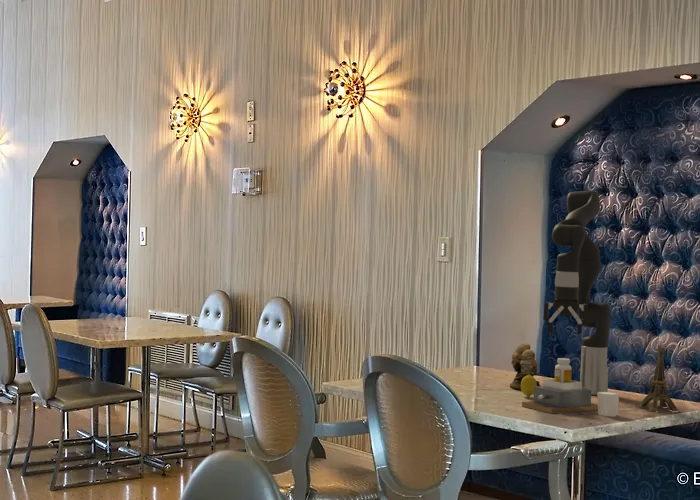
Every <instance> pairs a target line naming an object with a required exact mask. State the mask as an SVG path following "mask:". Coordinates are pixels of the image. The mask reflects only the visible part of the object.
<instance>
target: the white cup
mask: <svg viewBox="0 0 700 500" xmlns="http://www.w3.org/2000/svg"><path fill="white" fill-rule="evenodd" d="M620 394H621V393H618V392H614V391H613V392H612V391H608V392H597V395H596V396H597V404H598V410H597V411H598V413H597V414H598V416H602V415H603V417H617V416H618V415H617V414H618V407H619V400H620ZM616 415H617V416H616Z"/></svg>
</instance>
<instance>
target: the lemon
mask: <svg viewBox="0 0 700 500" xmlns="http://www.w3.org/2000/svg"><path fill="white" fill-rule="evenodd" d="M536 381H537V379H536V378H535V377H534V376H531V375H527V376H525V377H524V378H523V379H522V381H521V391H520V392H522V394H523V395H524V396H526V397H527V398H530V397H531V396H532V395H533V396H534V387H537V383H536Z"/></svg>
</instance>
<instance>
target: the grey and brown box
mask: <svg viewBox="0 0 700 500" xmlns="http://www.w3.org/2000/svg"><path fill="white" fill-rule="evenodd" d="M521 407H524V408H527V409H531V410H536V411H539V412H543V413H547V414H551V415H552V414H563V413H579V412H590V411H591V412H592V411H598V403H592V394H591V390H588V389H587V388H585V387H583V388H582V382H580V381H578V380H572V379H571V382H567V383H561V382H556V381H555V378H550V379H549V378H544V379H543V385H541V386H537V387H534V394H533V400H532V401H531V400H530V401H521Z"/></svg>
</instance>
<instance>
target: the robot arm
mask: <svg viewBox="0 0 700 500" xmlns="http://www.w3.org/2000/svg"><path fill="white" fill-rule="evenodd" d="M566 198H567V199H566V206H567V215H566V217H565V219H564V220H562V221H560V222H558V223H557V224H555V226H554V228H553V229H552V233H551V240H552V242H553V243H554V244H555V245H556V246H559V247H572V249H571V250H570V251H568V252H564V253H559V254H558V255H557V256H556V273H555V279H554V301H553V302H548V301H546V302H545V303H544V310H543V321H546V322H547V323H548V332H549V333H550V335H554V321H555V319H556V318H557V316H560V317H573V318H574V319H575V320H576V322H577V328H576V329H577V333H576V335H577V336H580V335H581V334H582V333H583V331H582V330H583V327H586V328H592V329H594V328H595V332H594V333H593V334H591V335H588V336H585V337H582V338H581V348H580V350H581V352H580V353H581V354H580V375H579V382H582V388H583V387H585V388H587V389H588V390H591V396H592V395H594V396H597V392H609V391H608V388H609V387H608V386H609V367H608V366H607V364H608V345H609V340H610V339H609V338H610V328H611V317H612V316H611V314H612V312H611V308H610V305H609V304H608V303H604V302H594V301H593V302H592V301H591V290H592V287H593V285H594V283H595V281H596V280H597V278H598V277H599V274H600V272H601V268H602V265H601V253H600V249H599V248H598V246H597V244H596V243H595V242H594V241H593V239H592V238H591V236H589V234H588V233H587V232H586V230H585V227H586V226H587V225H588V224H589V222H590V221H592V220H593V219H594V218H595V217H596V216H597V215H598V214H599V213H600V209H601V199H600V196H599V194H598V192H597V191H595V190H582V191H580V190H579V191H570V192H569V193H568V194H567V197H566ZM552 307H553V309H554V310H555V312H554V313H553V314H552V316H551V317H548V316H549V310H551V308H552Z"/></svg>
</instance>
